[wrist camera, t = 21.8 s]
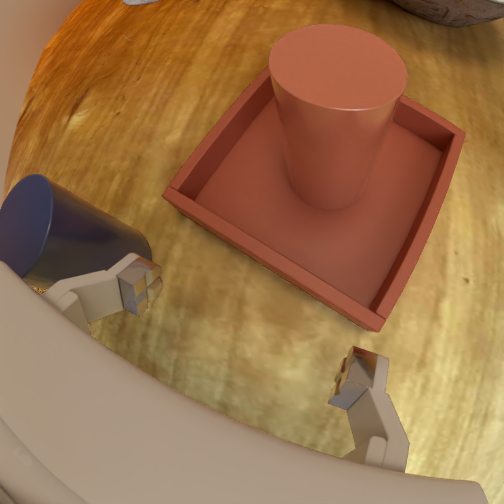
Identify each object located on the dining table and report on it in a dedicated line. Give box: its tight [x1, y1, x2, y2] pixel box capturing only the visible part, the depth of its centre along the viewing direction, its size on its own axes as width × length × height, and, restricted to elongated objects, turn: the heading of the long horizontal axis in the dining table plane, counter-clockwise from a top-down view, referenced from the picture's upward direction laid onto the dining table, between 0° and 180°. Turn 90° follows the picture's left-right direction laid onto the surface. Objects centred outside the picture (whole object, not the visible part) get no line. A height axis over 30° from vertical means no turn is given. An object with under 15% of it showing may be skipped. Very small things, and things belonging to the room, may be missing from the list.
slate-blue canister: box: [0, 174, 151, 290], centre depth 16 cm, size 6×6×10 cm
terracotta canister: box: [268, 24, 407, 210], centre depth 14 cm, size 6×6×10 cm
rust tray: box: [162, 66, 466, 333], centre depth 18 cm, size 15×15×3 cm
